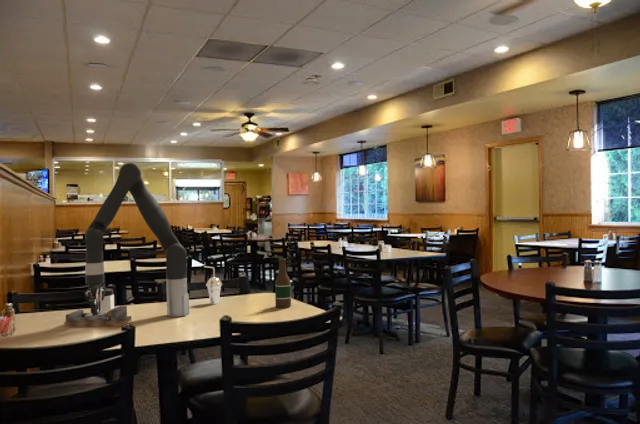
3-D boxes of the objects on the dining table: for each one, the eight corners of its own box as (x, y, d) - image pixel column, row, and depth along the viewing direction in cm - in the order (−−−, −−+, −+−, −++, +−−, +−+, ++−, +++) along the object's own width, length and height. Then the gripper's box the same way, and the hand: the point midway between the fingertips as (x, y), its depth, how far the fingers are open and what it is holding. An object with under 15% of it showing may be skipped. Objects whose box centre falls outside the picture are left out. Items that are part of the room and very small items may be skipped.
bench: (131, 320, 218) (131, 304, 218) (117, 327, 206) (117, 310, 206) (80, 320, 221) (80, 305, 221) (64, 326, 209) (64, 310, 209)
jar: (95, 317, 225) (94, 292, 225) (92, 314, 232) (92, 289, 232) (116, 315, 230) (115, 289, 230) (112, 312, 237) (112, 287, 237)
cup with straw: (220, 305, 249) (220, 266, 249) (203, 305, 250) (202, 266, 249) (224, 301, 258) (223, 264, 258) (207, 302, 258) (206, 264, 258)
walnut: (118, 318, 215) (118, 309, 215) (113, 320, 211) (113, 310, 211) (109, 318, 215) (109, 309, 215) (104, 320, 211) (104, 310, 211)
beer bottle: (294, 305, 243) (293, 258, 243) (285, 308, 237) (284, 259, 237) (281, 304, 248) (280, 257, 247) (272, 307, 241) (271, 259, 241)
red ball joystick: (108, 316, 217) (108, 292, 217) (100, 320, 210) (99, 294, 210) (93, 316, 217) (93, 292, 217) (84, 320, 211) (84, 294, 210)
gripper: (94, 275, 206) (95, 315, 206) (111, 270, 220) (112, 308, 220) (77, 275, 207) (78, 315, 207) (95, 270, 221) (96, 308, 221)
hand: (95, 311), depth 214 cm, fingers closed on red ball joystick, 3 cm apart
